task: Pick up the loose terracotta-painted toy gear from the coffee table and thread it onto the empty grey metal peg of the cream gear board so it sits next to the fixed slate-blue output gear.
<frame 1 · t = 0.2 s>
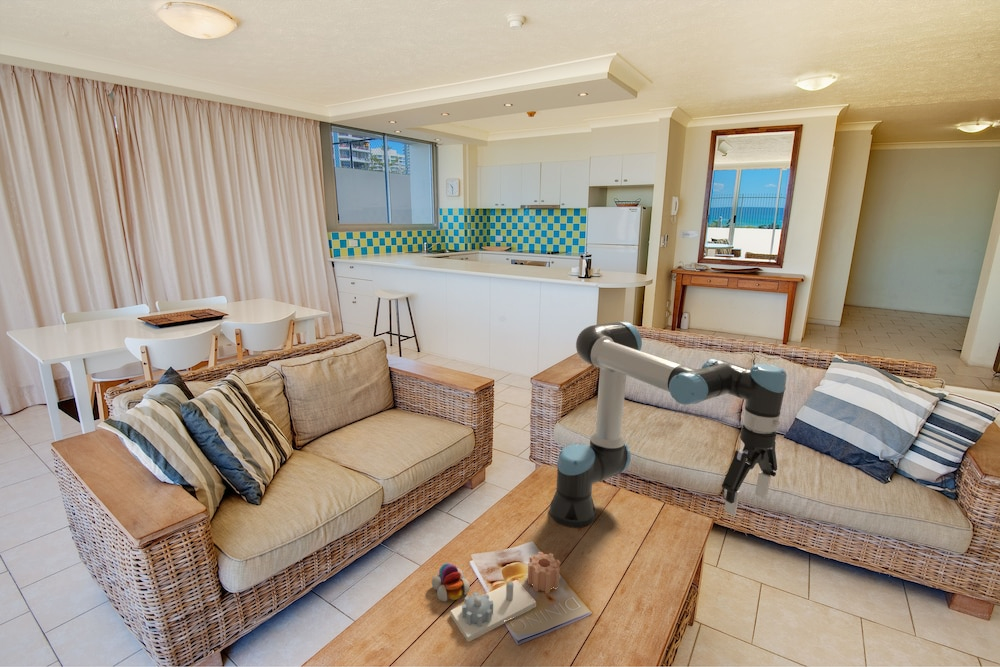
hand: (745, 504, 121), 28 cm above the table, fingers open, 13 cm apart
gear: (543, 581, 131), on the table
gear board: (493, 611, 121), on the table
white-domed colorful disc toy: (450, 591, 127), on the table
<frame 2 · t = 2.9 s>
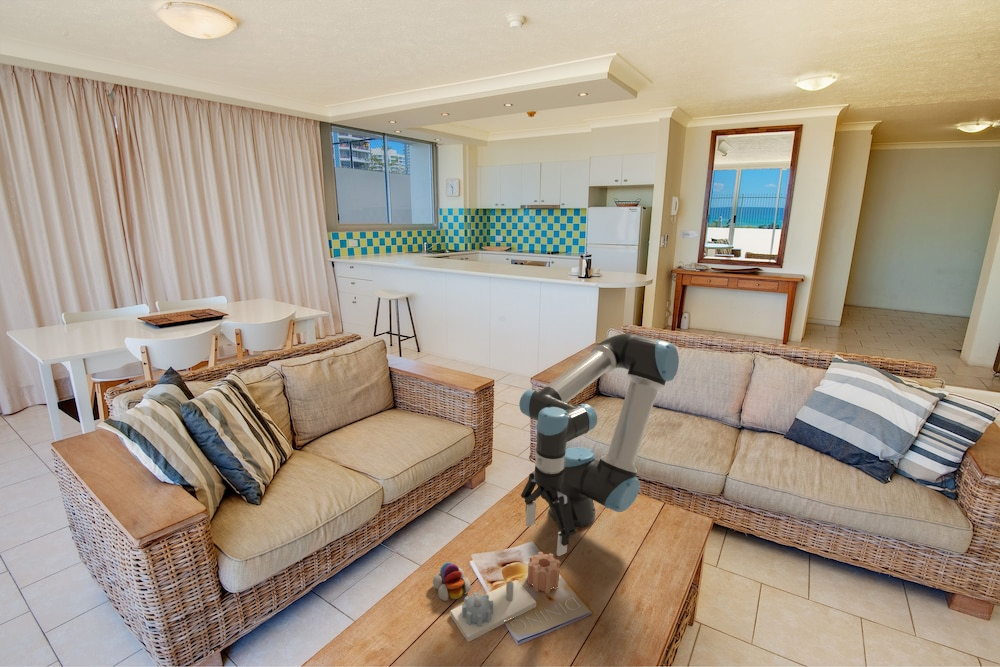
hand: (545, 538, 128), 14 cm above the table, fingers open, 13 cm apart
nothing on the table moved.
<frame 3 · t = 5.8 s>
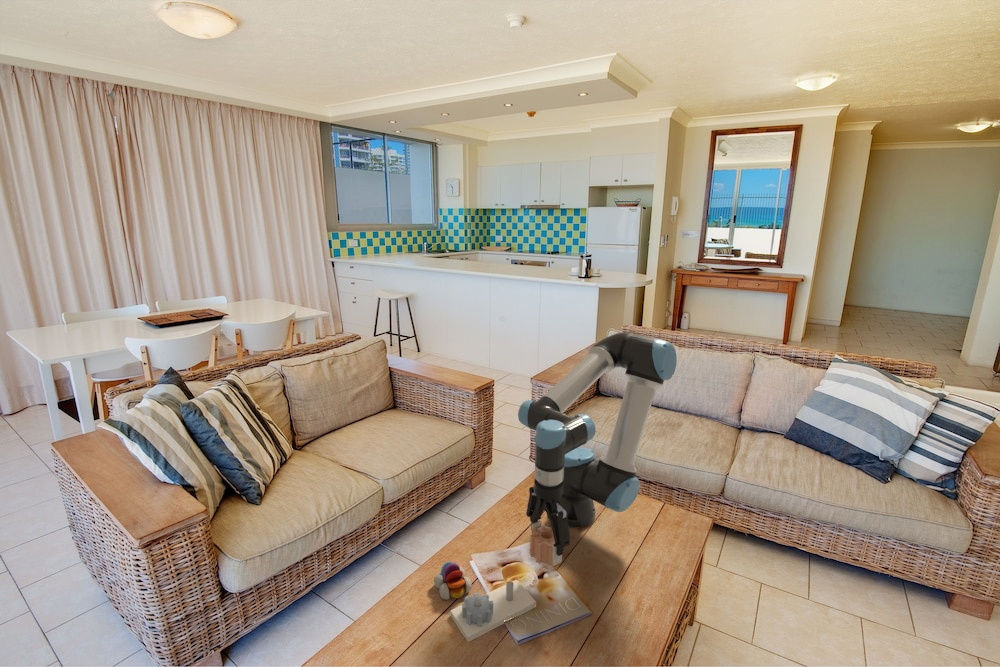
hand: (546, 552, 129), 9 cm above the table, fingers closed on gear, 8 cm apart
gear: (545, 553, 129), point 9 cm above the table, touching gripper
everything else where it was.
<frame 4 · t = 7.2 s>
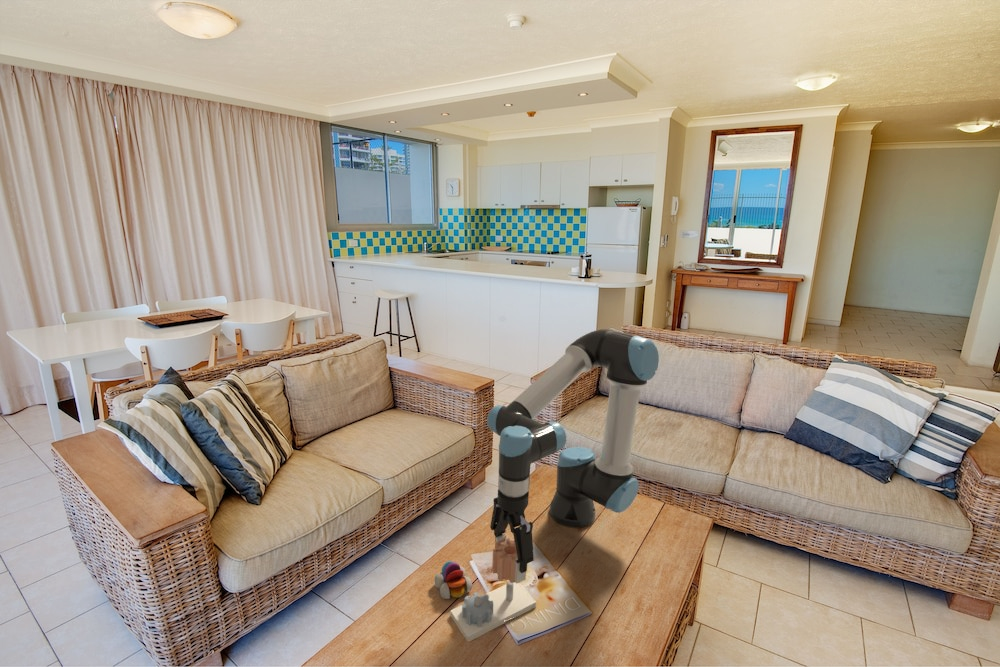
hand: (509, 569, 121), 11 cm above the table, fingers closed on gear, 8 cm apart
gear: (509, 570, 121), point 10 cm above the table, touching gripper
everything else where it was.
when the fingers open (2 cm above the table, at t = 9.0 s): gear stays where it is, resting on gear board.
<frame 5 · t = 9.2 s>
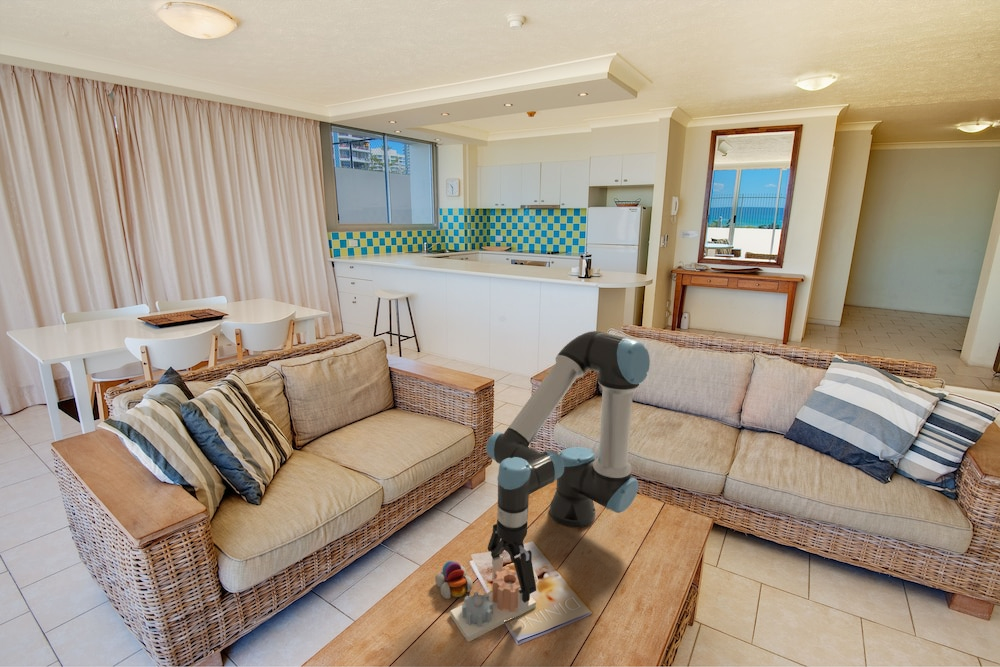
hand: (509, 593, 123), 3 cm above the table, fingers open, 11 cm apart
gear: (509, 598, 123), point 1 cm above the table, touching gear board
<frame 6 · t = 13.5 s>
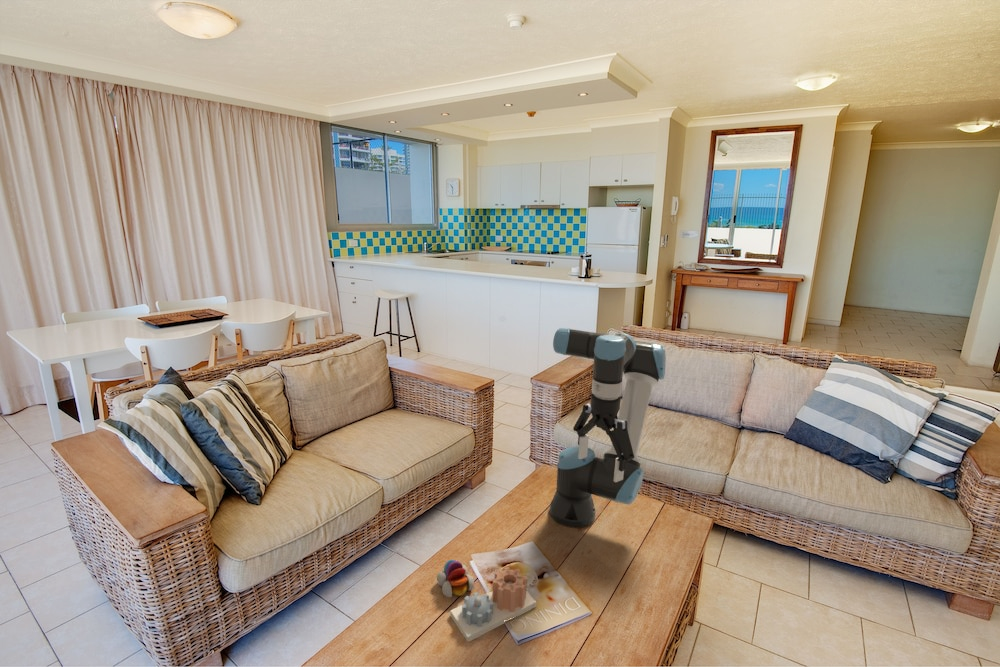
hand: (599, 468, 129), 32 cm above the table, fingers open, 13 cm apart
at the end: gear 0.2 cm from the target spot on the gear board, point 1.5 cm above the gear board's base; gear tilted 0°; the gripper is holding nothing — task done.
